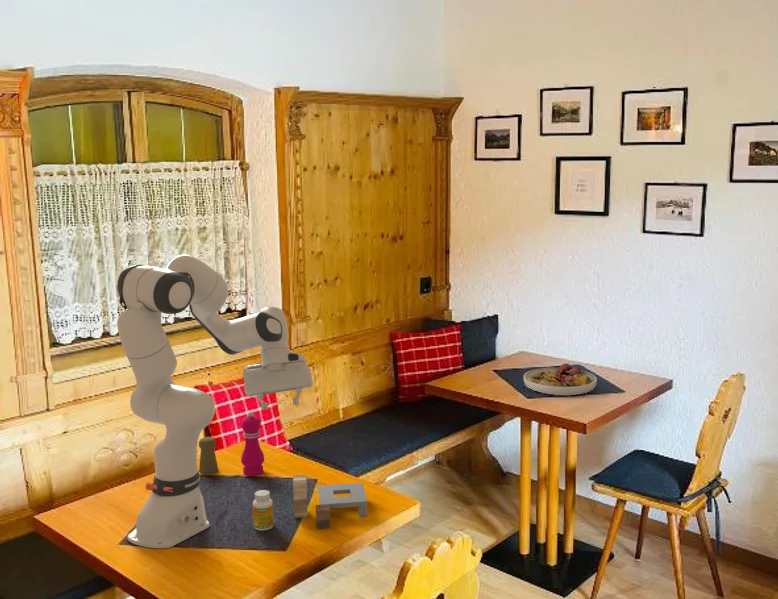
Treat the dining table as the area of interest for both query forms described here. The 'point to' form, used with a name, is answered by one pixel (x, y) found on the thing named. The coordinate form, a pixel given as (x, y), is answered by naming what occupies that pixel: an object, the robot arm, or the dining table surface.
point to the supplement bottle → (262, 511)
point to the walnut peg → (323, 516)
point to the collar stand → (354, 499)
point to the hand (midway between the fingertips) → (280, 406)
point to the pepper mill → (252, 446)
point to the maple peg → (300, 496)
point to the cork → (207, 456)
